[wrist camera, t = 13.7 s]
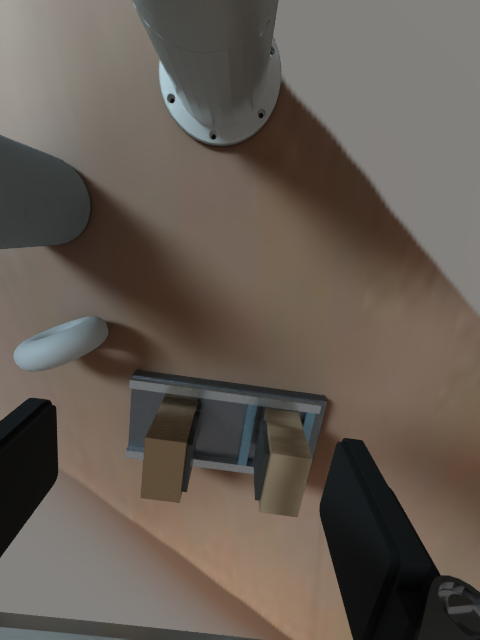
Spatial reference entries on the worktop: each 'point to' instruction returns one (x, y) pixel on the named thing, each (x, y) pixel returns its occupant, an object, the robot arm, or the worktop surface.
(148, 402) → the rail
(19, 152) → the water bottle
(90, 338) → the donut
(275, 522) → the worktop surface
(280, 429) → the tan wooden block
